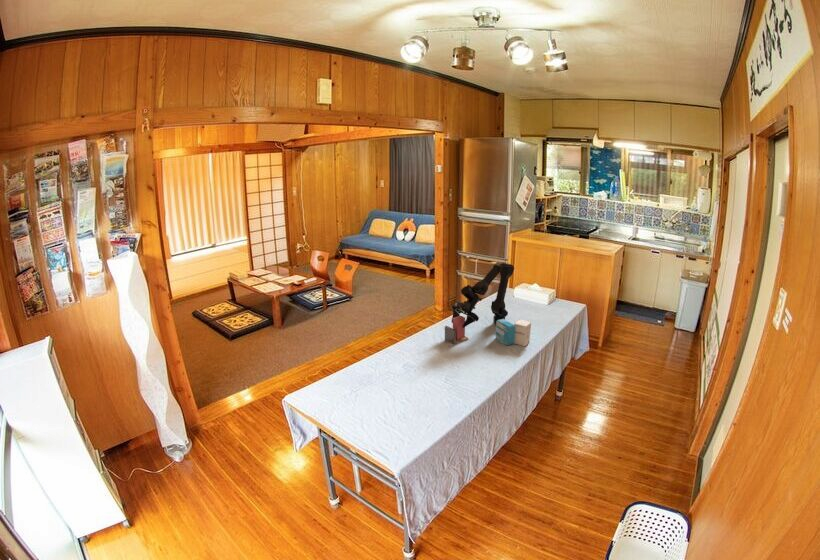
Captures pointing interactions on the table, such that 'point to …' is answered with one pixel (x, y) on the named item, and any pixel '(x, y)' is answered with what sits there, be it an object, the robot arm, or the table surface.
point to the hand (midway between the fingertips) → (457, 325)
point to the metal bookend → (450, 335)
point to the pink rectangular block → (459, 327)
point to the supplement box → (522, 332)
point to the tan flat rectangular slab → (461, 340)
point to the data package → (505, 331)
